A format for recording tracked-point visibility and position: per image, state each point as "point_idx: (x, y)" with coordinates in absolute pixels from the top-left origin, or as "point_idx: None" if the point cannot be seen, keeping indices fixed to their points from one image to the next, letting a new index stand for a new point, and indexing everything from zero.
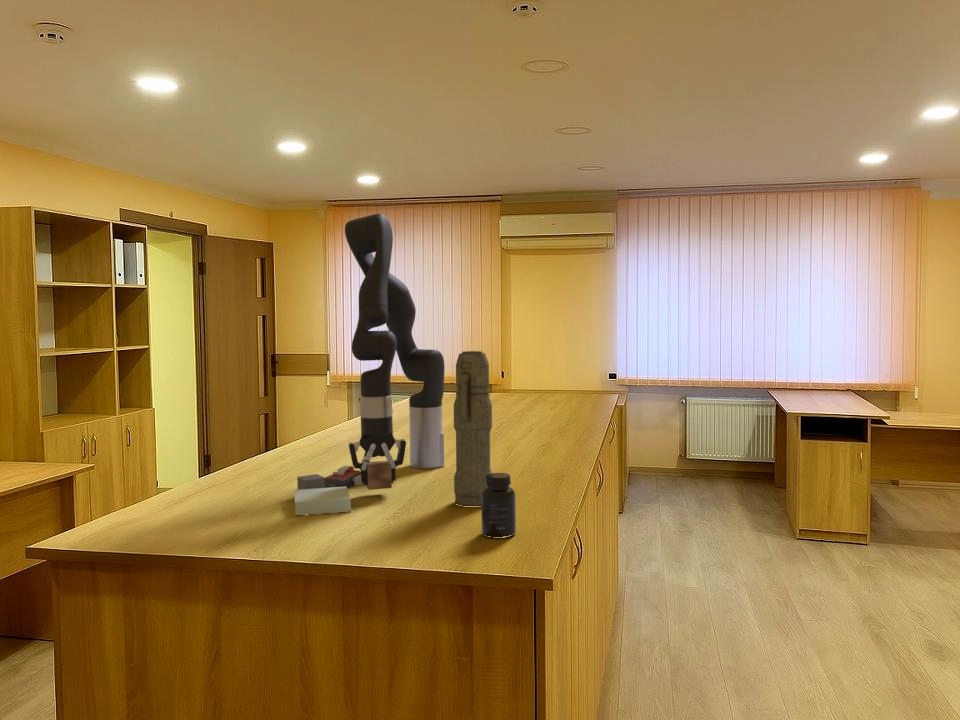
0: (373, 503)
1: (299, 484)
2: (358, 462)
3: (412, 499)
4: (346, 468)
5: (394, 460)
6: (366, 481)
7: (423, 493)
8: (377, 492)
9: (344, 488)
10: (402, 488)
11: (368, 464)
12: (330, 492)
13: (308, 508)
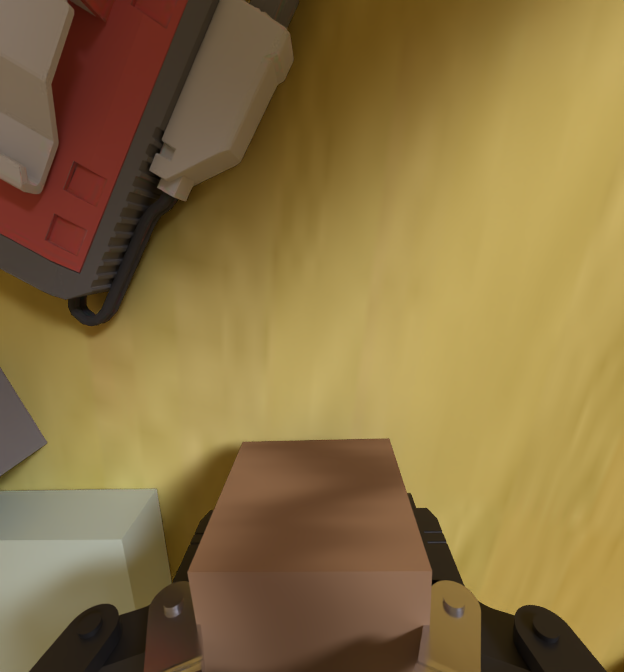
0: None
1: None
2: (114, 662)
3: (470, 566)
4: (47, 53)
5: (494, 660)
6: None
7: (557, 475)
8: (318, 395)
9: (114, 578)
10: (474, 338)
11: (221, 662)
12: (48, 636)
13: None
